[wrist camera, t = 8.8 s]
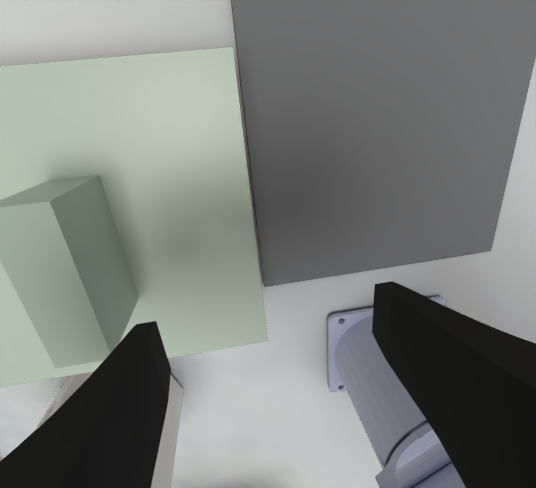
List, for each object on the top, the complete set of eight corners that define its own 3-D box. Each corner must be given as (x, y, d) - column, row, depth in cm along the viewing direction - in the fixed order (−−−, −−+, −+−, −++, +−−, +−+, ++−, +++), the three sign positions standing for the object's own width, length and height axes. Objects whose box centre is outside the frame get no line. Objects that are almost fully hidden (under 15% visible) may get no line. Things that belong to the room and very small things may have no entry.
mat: (550, -43, 16) (559, -47, 16) (485, 248, 23) (490, 251, 23) (228, -23, 14) (228, -27, 14) (263, 283, 21) (264, 286, 21)
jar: (98, 327, 21) (-33, 560, 10) (200, 370, 24) (184, 589, 13) (42, 409, 23) (-115, 675, 12) (143, 440, 26) (87, 678, 15)
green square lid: (232, 49, 12) (238, 16, 8) (266, 333, 18) (281, 402, 13) (-172, 83, 11) (-429, 65, 6) (7, 378, 16) (-66, 470, 12)
